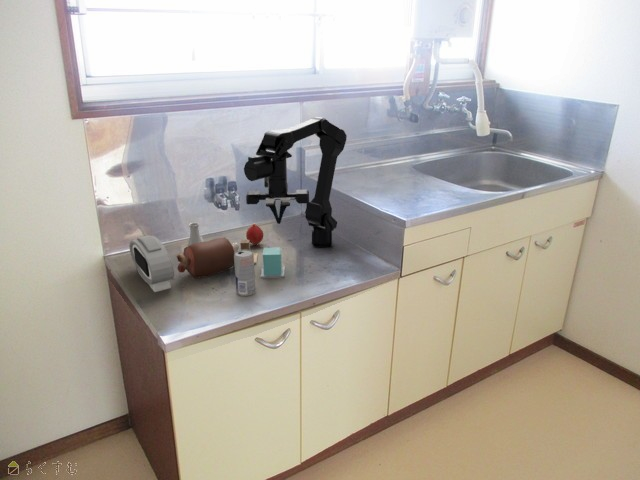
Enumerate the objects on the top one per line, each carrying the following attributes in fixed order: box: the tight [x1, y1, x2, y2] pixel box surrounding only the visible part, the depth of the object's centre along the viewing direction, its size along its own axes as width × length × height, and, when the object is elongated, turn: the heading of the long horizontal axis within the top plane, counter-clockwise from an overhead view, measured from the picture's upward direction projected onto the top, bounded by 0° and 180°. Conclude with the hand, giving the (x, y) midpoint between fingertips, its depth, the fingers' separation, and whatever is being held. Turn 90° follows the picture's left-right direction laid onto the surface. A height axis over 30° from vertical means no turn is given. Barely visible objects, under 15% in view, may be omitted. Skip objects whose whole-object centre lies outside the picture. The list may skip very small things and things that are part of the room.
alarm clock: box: [129, 235, 175, 293], centre depth 152 cm, size 23×6×13 cm, turn 33°
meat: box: [176, 237, 240, 279], centre depth 157 cm, size 20×12×10 cm, turn 128°
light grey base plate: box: [260, 265, 286, 279], centre depth 157 cm, size 7×7×6 cm
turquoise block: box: [262, 247, 283, 275], centre depth 157 cm, size 5×5×7 cm
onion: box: [245, 223, 264, 246], centre depth 177 cm, size 6×6×8 cm
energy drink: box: [234, 249, 257, 297], centre depth 145 cm, size 5×5×12 cm
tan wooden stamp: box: [234, 239, 259, 266], centre depth 166 cm, size 7×7×6 cm
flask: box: [187, 222, 205, 247], centre depth 171 cm, size 7×7×10 cm
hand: (278, 223), depth 161 cm, fingers closed
